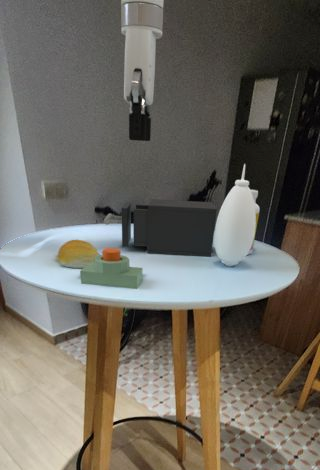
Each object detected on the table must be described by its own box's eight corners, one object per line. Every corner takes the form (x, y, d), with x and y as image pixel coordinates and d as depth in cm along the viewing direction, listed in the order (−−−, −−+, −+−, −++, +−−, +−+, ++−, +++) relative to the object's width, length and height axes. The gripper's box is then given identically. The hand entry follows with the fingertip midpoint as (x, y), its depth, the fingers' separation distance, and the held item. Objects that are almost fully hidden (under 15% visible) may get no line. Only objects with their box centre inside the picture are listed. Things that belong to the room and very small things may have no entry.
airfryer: (147, 253, 83) (148, 205, 77) (149, 243, 91) (150, 198, 85) (211, 256, 83) (216, 208, 77) (207, 246, 91) (212, 202, 85)
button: (100, 262, 62) (100, 251, 61) (105, 258, 64) (105, 247, 63) (118, 263, 62) (117, 253, 61) (122, 259, 64) (122, 248, 63)
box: (80, 284, 63) (78, 260, 61) (90, 274, 68) (88, 251, 66) (136, 289, 62) (136, 265, 60) (142, 279, 67) (143, 256, 65)
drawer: (103, 246, 83) (101, 207, 78) (109, 237, 90) (107, 201, 85) (181, 250, 83) (184, 211, 78) (180, 241, 90) (183, 205, 85)
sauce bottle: (204, 261, 79) (215, 161, 68) (234, 259, 82) (249, 162, 71) (223, 271, 73) (239, 164, 63) (255, 268, 76) (275, 165, 66)
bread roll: (57, 269, 70) (54, 247, 67) (59, 257, 77) (57, 236, 74) (101, 269, 71) (99, 247, 69) (99, 257, 78) (98, 237, 76)
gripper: (128, 33, 73) (128, 139, 83) (112, 8, 59) (115, 139, 70) (165, 35, 73) (161, 141, 83) (158, 10, 59) (154, 141, 69)
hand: (140, 140), depth 76 cm, fingers open, 9 cm apart
